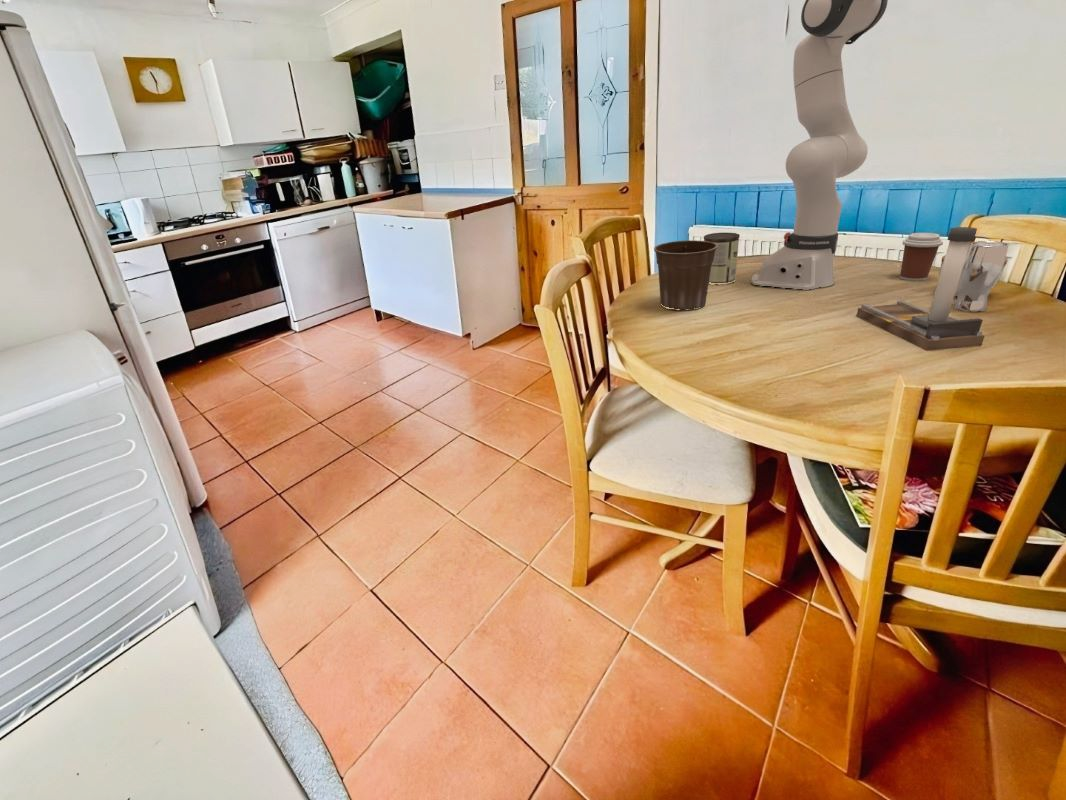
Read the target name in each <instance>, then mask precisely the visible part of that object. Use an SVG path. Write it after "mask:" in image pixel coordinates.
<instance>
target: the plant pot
mask: <svg viewBox="0 0 1066 800" xmlns="http://www.w3.org/2000/svg"><path fill="white" fill-rule="evenodd" d="M717 247H718V245H717V244H715V243H713V242H708V241H704V240H696V239H695V240H694V239H693V240H692V239H691V240H676V241H675V240H674V241H669V242H668V241H667V242H664V243H660V244H657V245H656V246H654V248H653V251H654V252H655V256H656V257H655V258H656V264H657V269H658V270H657V271H658V282H659V297H660V298H659V301H660V305H661V304H662V305H663V306H665V307H669V308H674V309H681V310H685V309H694V308H699V307H701V308H703V307H705V306H706V303H707V297H708V290H709V277H710V271H711V265H712V262H713V261H714V255H715V250H716V249H717ZM702 306H703V307H702ZM699 309H700V308H699Z"/></svg>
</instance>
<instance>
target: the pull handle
mask: <svg viewBox="0 0 1066 800" xmlns="http://www.w3.org/2000/svg"><path fill="white" fill-rule="evenodd" d="M977 231H978V228H976V227H969V226H968V227H967V226H957V227H951V228H950V230H949V233H948V236H947V239H946V240H948V241H949V243H948V246H947V249H946V253H945V259H944V263H943V266H942V270H941V273H940V277H939V276H938V281H937V283H936V288H935V292H934V295H933V299H932V302H931V306H930V309H929V311H930V312H929V315H918V316H913V317H912V320H911V324H913V325H915V326H917V327H919V328H922V329H924V330H926V331H927V328H928V325H929V323H936V322H946V321H957V320H958V319H957V318H954V317H951V316H949V314H950V311H951V309H952V306H953V302H954V298H955V296H954V295H955V292H956V289H957V285H958V282H959V279H960V275H961V272H962V269H963V265H964V262H965V259H966V255H967V252H968V250H969V247H970V245H971V243H972V242H974V241H975V239H976V234H977Z"/></svg>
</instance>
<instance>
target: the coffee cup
mask: <svg viewBox="0 0 1066 800" xmlns="http://www.w3.org/2000/svg"><path fill="white" fill-rule="evenodd" d="M940 237H941V236H940V234H939V233H933V232H913V233H910V234H909V235H908V237H907V238H906V239H903V240H902V245H903V246H904V247H903V252H902V253H903V255H902V261H901V262H902V263H901V268H900V274H899V275H900V276H899V279H901V280H903V281H904V280H905V281H910V282H914V281H915V282H918V281H920V282H921V281H926V280H928V277H929V274H930V271H931V268H932V267H933V263H934V261H935V258H936V255H937V254H938V250H939V248H940V247H941V246H943V244H944V241H943V240H942V239H941V238H940Z"/></svg>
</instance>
